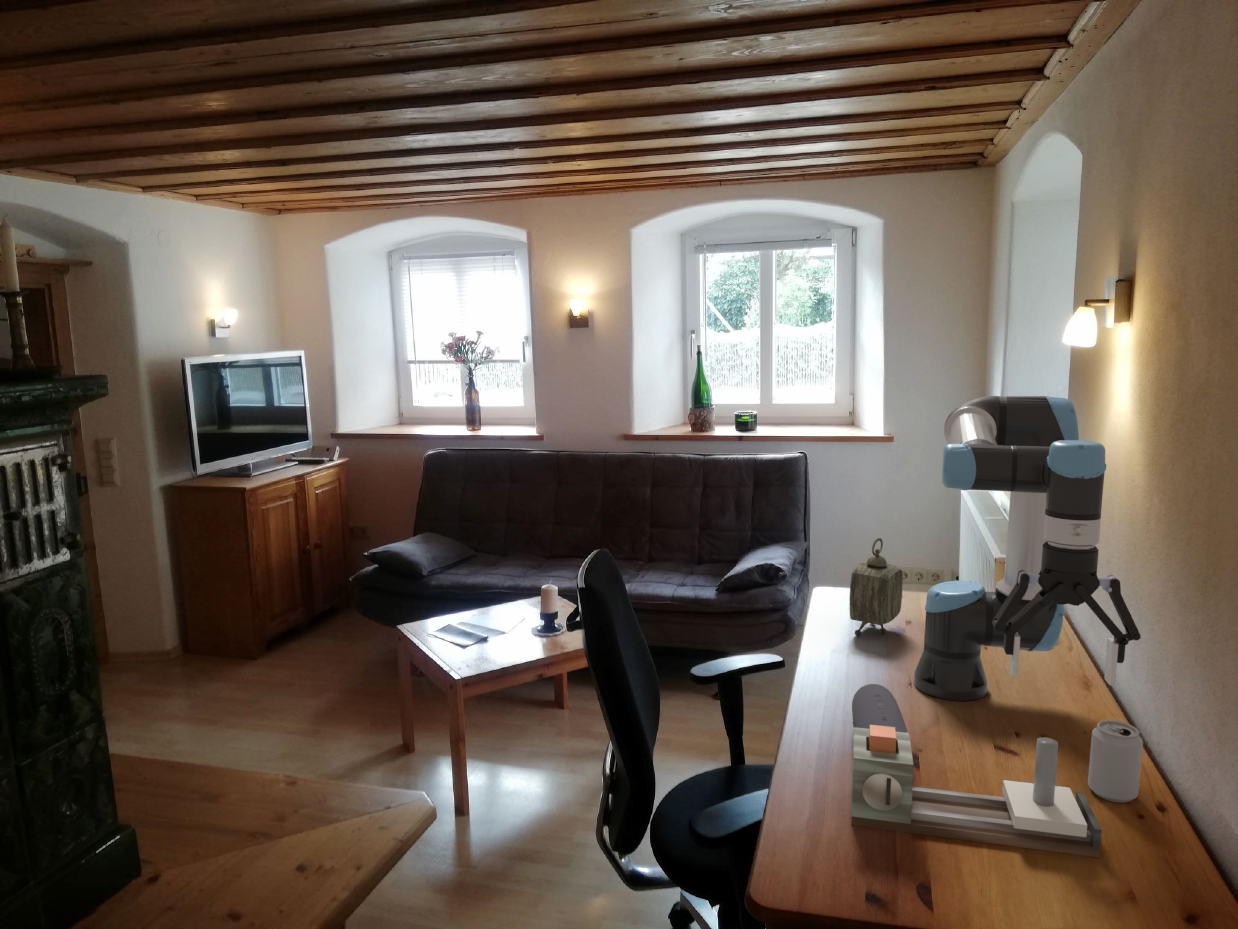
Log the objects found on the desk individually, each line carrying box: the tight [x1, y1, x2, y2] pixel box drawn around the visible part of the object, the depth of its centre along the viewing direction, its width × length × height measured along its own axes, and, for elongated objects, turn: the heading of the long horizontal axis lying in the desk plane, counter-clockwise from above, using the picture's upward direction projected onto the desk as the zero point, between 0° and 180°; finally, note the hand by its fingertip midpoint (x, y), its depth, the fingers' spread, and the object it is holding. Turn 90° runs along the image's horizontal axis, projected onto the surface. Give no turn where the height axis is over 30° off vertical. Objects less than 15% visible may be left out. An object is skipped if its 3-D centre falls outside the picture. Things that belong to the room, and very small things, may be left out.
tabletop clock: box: [849, 537, 904, 637], centre depth 225 cm, size 14×9×25 cm, turn 144°
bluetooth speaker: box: [851, 683, 908, 733], centre depth 161 cm, size 23×9×10 cm, turn 170°
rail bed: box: [850, 727, 1103, 858], centre depth 139 cm, size 12×36×12 cm, turn 75°
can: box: [1087, 719, 1144, 803], centre depth 148 cm, size 8×8×12 cm
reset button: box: [869, 725, 896, 754], centre depth 142 cm, size 4×4×3 cm
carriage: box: [1002, 736, 1087, 837], centre depth 136 cm, size 11×10×12 cm
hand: (1060, 678), depth 134 cm, fingers open, 13 cm apart
